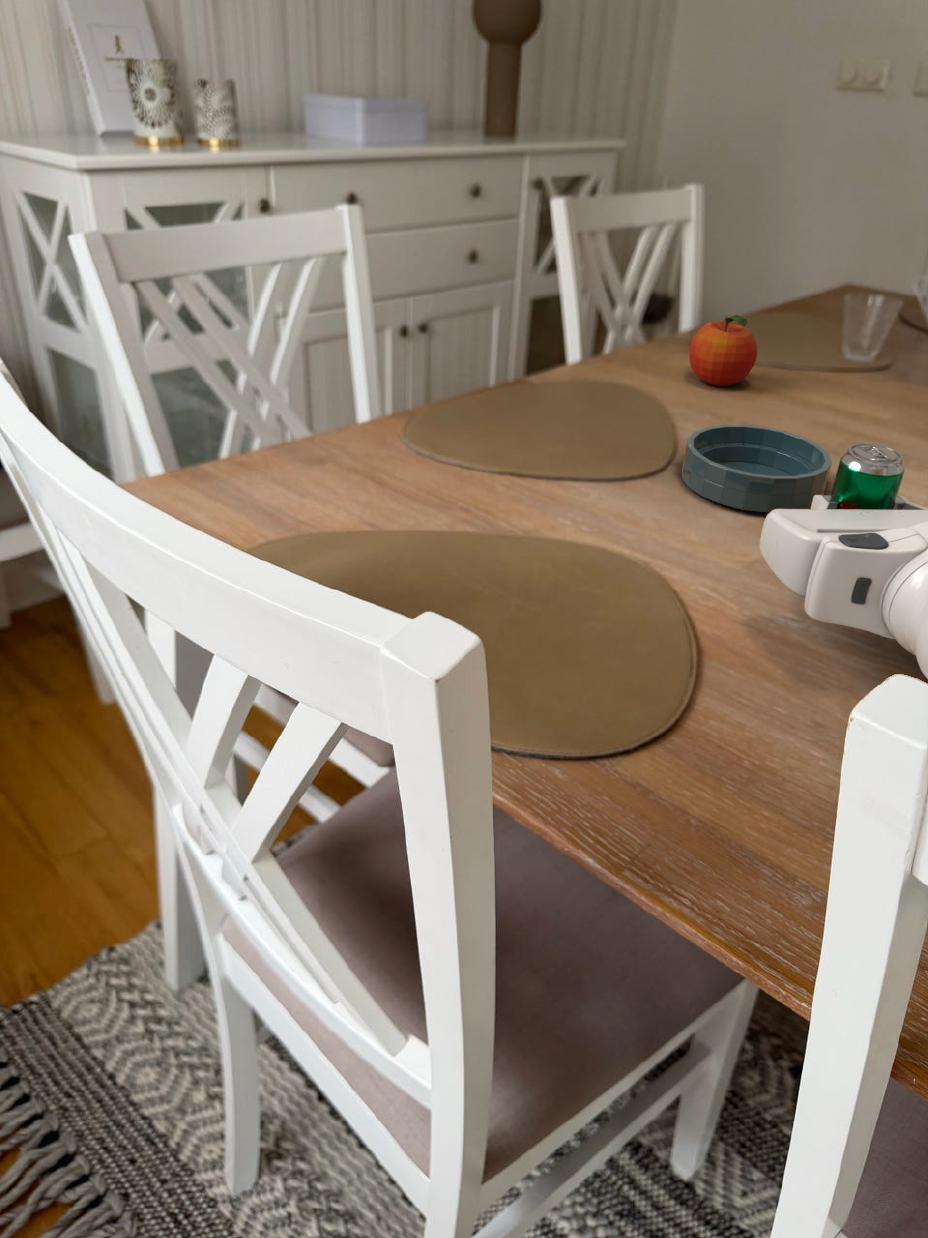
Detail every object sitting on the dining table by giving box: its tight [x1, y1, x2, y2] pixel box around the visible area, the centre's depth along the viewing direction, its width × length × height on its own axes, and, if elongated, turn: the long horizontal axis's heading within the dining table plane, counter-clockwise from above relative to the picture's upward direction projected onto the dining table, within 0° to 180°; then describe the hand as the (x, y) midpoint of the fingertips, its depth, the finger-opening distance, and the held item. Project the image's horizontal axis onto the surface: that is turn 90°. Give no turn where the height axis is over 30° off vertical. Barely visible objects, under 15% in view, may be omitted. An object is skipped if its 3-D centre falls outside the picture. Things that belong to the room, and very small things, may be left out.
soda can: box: [830, 442, 905, 510], centre depth 81 cm, size 5×5×12 cm
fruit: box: [688, 314, 758, 387], centre depth 136 cm, size 10×10×10 cm
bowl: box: [681, 424, 833, 513], centre depth 105 cm, size 15×15×4 cm
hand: (855, 502), depth 81 cm, fingers closed on soda can, 5 cm apart
